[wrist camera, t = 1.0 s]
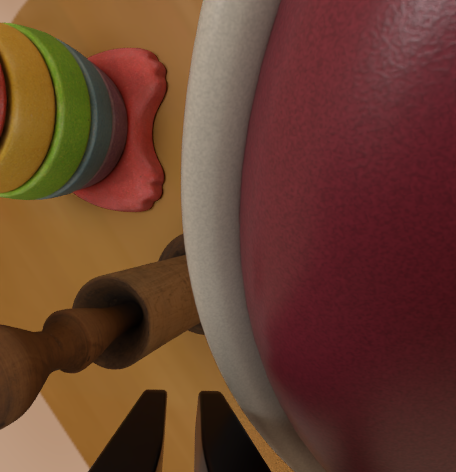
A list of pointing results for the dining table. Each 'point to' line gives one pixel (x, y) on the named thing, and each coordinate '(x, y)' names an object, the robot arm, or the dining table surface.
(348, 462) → the canister
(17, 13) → the dining table surface
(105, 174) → the stacking bear
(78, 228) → the dining table surface
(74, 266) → the dining table surface
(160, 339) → the brown turned post
